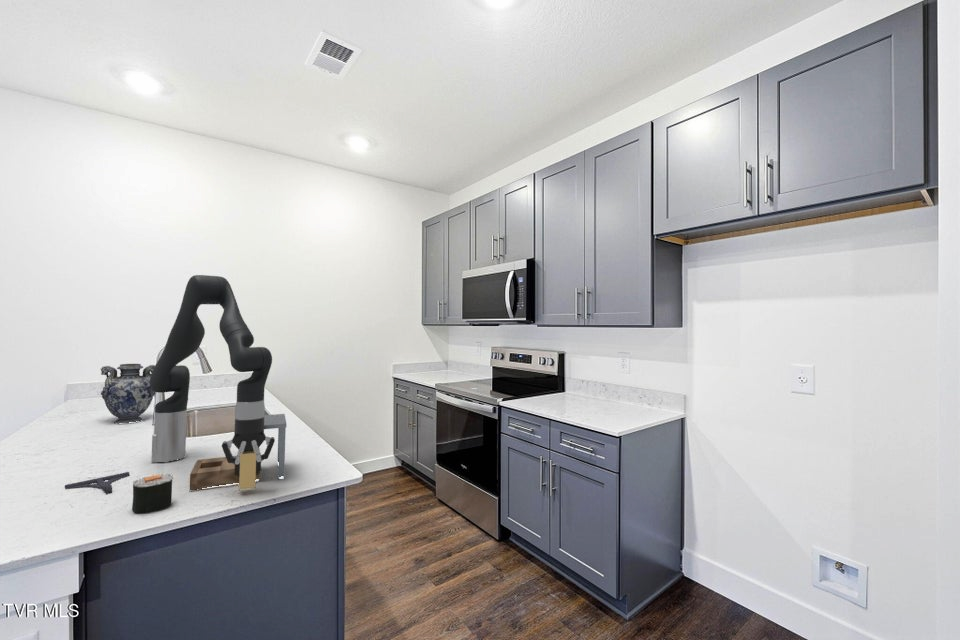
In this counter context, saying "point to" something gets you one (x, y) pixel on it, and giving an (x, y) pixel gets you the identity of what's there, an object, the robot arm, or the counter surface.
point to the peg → (247, 470)
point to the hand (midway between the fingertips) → (247, 474)
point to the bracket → (99, 482)
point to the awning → (279, 423)
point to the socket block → (213, 473)
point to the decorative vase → (127, 391)
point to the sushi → (152, 493)
